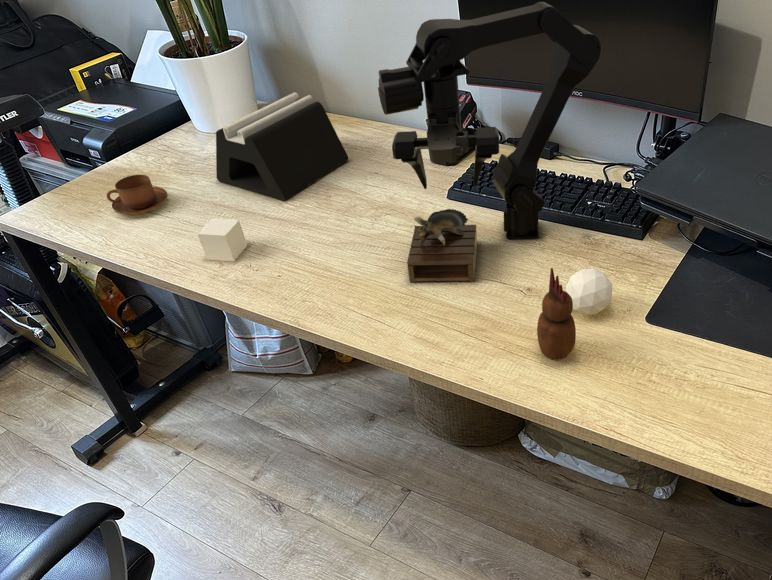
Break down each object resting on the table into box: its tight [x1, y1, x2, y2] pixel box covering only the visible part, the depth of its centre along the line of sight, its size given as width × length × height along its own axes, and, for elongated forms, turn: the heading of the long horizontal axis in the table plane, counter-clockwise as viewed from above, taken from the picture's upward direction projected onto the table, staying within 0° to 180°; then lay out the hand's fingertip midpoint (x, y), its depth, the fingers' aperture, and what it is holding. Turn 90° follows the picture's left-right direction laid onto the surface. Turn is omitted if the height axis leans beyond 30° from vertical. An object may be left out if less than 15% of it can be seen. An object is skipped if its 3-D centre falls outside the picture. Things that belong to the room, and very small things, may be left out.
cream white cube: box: [197, 217, 248, 262], centre depth 131 cm, size 6×6×6 cm
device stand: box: [215, 92, 349, 202], centre depth 155 cm, size 22×22×15 cm
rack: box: [406, 224, 478, 284], centre depth 124 cm, size 12×13×4 cm
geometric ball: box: [565, 268, 613, 315], centre depth 110 cm, size 8×8×8 cm
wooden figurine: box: [536, 267, 577, 361], centre depth 100 cm, size 7×6×15 cm
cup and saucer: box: [106, 174, 168, 216], centre depth 148 cm, size 12×12×6 cm
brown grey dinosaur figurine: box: [413, 208, 469, 245], centre depth 122 cm, size 8×7×9 cm
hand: (450, 186), depth 121 cm, fingers open, 9 cm apart
